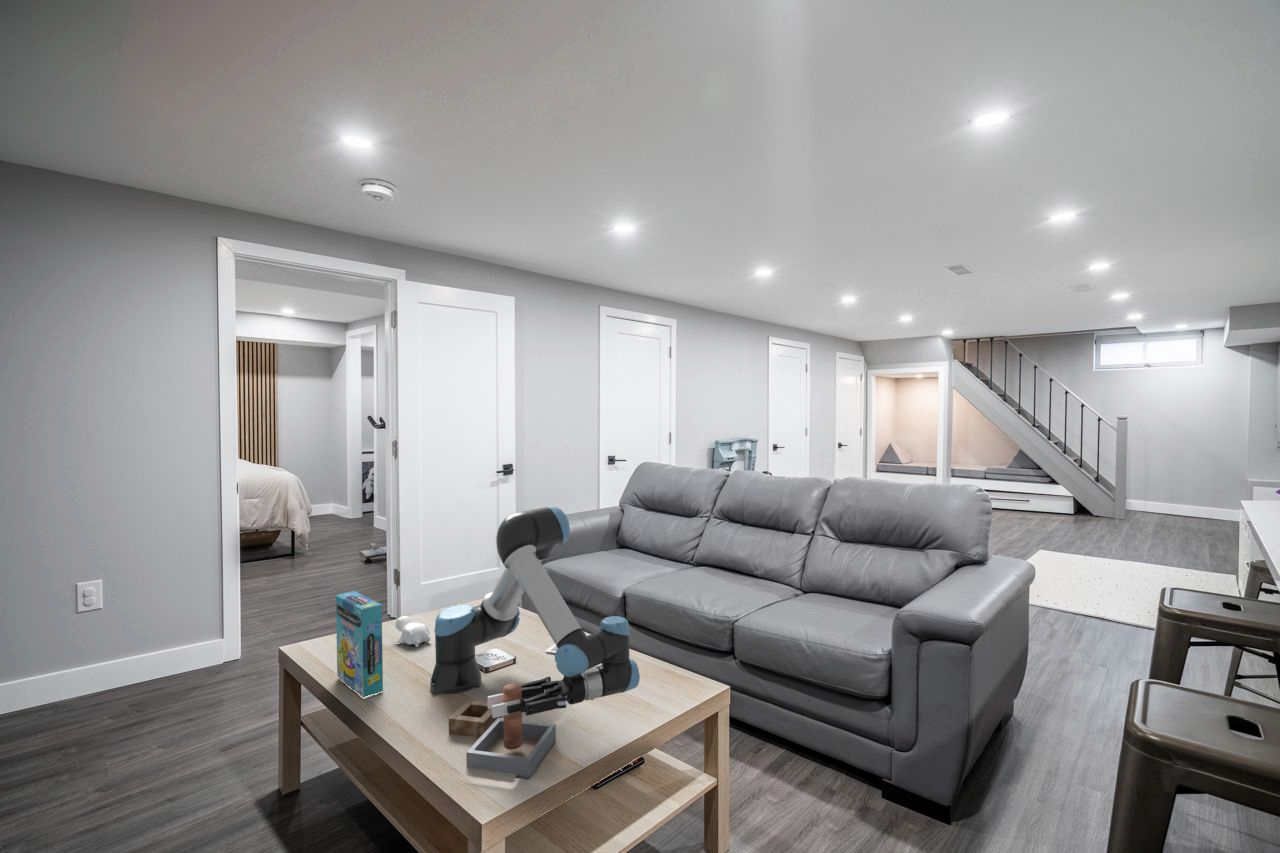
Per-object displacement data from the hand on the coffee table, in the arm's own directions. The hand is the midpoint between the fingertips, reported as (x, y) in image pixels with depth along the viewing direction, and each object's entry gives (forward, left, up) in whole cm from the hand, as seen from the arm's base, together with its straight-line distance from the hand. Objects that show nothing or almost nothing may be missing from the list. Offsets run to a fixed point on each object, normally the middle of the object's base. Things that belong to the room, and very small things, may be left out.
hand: (490, 707), depth 141 cm
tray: (+4, +3, -13) cm, 14 cm away
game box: (-59, +28, -13) cm, 67 cm away
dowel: (+4, +3, -10) cm, 12 cm away
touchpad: (-5, +66, -14) cm, 68 cm away
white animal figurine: (-65, +63, -14) cm, 91 cm away
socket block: (-11, +12, -13) cm, 21 cm away
